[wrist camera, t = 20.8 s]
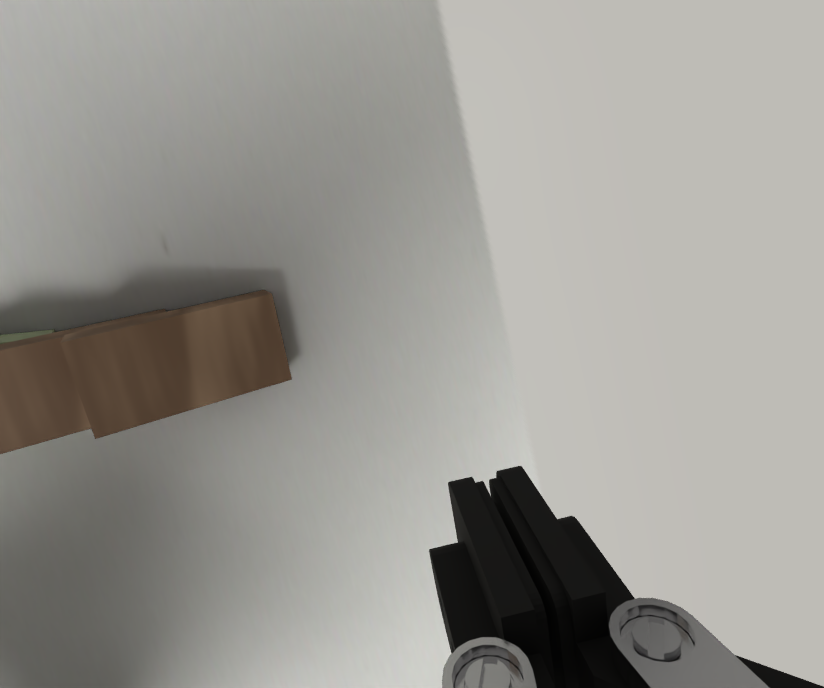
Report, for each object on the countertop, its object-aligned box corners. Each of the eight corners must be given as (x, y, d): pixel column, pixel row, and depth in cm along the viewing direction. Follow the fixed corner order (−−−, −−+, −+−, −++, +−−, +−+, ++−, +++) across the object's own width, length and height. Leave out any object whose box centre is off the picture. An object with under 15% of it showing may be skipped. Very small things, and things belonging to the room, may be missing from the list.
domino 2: (282, 370, 32) (97, 425, 28) (263, 289, 30) (64, 334, 26) (291, 379, 30) (95, 438, 26) (271, 293, 29) (60, 342, 25)
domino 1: (188, 390, 32) (-14, 445, 28) (165, 308, 30) (-52, 355, 26) (191, 399, 30) (-24, 460, 26) (166, 314, 28) (-66, 364, 24)
